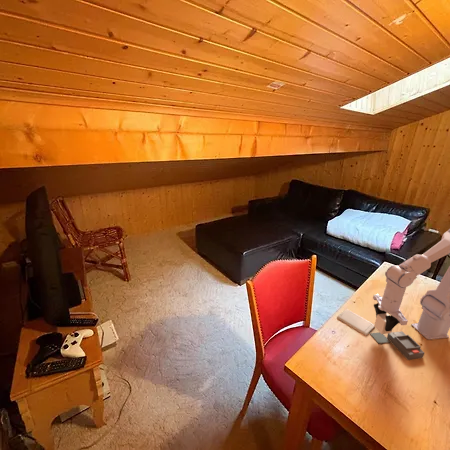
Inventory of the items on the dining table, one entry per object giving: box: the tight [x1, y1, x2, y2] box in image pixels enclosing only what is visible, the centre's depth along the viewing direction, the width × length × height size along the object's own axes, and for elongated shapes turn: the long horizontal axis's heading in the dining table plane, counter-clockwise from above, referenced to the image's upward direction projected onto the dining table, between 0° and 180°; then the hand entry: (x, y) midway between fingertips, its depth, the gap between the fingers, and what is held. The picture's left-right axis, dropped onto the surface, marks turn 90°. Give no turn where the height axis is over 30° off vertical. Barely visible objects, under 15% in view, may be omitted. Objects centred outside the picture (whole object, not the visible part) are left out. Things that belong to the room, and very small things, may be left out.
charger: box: [374, 313, 393, 335], centre depth 92 cm, size 4×4×6 cm
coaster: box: [369, 331, 391, 345], centre depth 95 cm, size 5×5×1 cm
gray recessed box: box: [386, 330, 425, 361], centre depth 90 cm, size 6×10×4 cm, turn 7°
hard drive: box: [336, 308, 376, 337], centre depth 103 cm, size 2×8×12 cm
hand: (383, 325), depth 92 cm, fingers closed on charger, 4 cm apart
